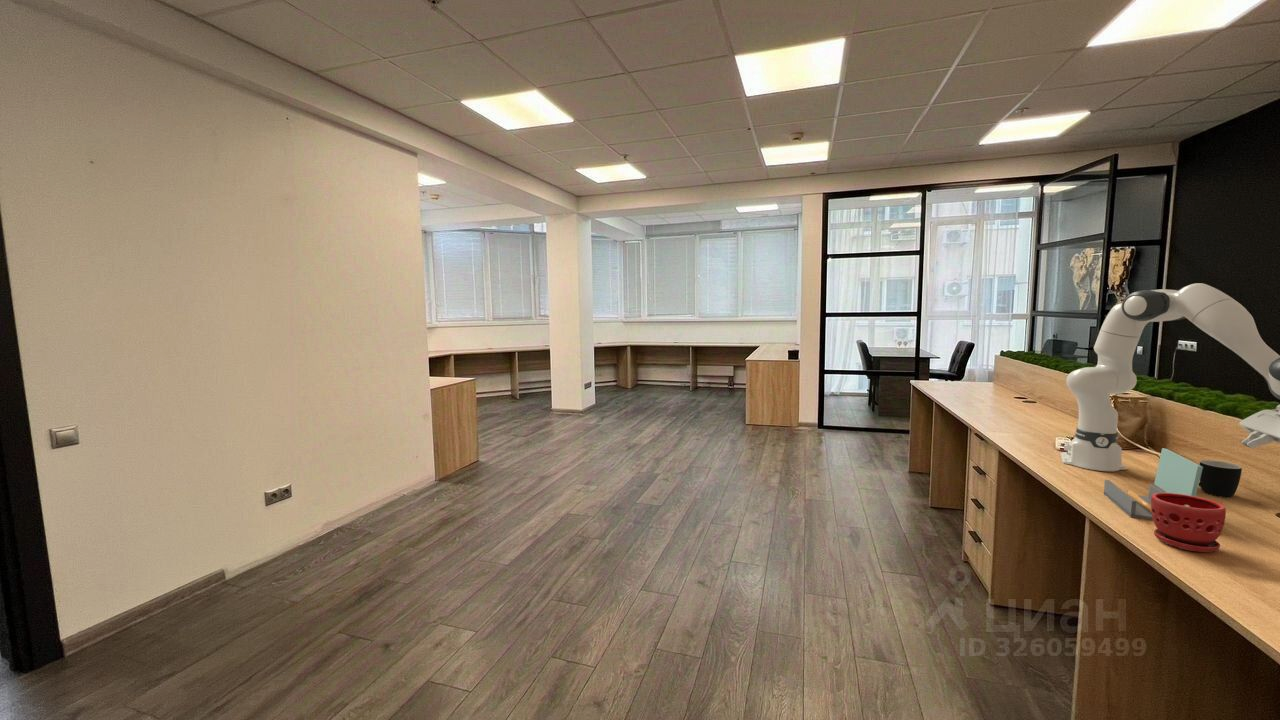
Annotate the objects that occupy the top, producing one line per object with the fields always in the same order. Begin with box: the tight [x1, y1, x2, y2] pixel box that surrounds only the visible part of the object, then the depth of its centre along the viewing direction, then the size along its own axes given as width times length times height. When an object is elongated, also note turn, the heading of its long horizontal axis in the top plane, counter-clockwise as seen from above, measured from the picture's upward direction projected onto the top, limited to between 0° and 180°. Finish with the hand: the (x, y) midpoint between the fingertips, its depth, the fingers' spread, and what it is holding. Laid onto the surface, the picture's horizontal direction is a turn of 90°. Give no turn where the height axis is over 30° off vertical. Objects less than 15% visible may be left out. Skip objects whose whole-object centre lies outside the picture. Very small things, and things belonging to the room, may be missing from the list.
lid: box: [1153, 447, 1203, 507], centre depth 149 cm, size 20×12×1 cm
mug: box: [1198, 459, 1243, 498], centre depth 164 cm, size 12×9×10 cm
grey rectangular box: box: [1103, 479, 1186, 521], centre depth 153 cm, size 20×12×5 cm, turn 154°
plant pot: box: [1151, 492, 1227, 553], centre depth 129 cm, size 13×13×12 cm
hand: (1246, 445), depth 142 cm, fingers closed
